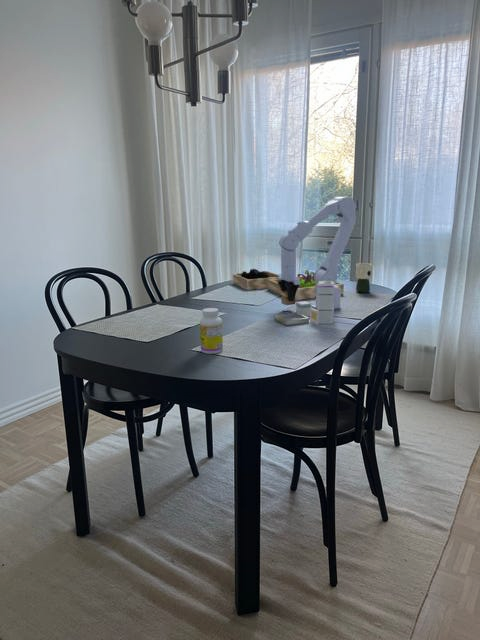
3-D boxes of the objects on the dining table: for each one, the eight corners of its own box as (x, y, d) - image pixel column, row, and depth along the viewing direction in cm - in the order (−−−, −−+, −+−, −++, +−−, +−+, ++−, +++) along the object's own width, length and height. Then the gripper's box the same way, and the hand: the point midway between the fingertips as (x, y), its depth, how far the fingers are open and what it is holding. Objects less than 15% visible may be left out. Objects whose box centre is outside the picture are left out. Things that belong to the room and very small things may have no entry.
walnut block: (290, 302, 191) (290, 289, 190) (295, 304, 187) (295, 291, 186) (281, 303, 189) (281, 291, 188) (286, 305, 186) (286, 292, 184)
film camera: (273, 285, 240) (273, 267, 238) (267, 288, 231) (267, 270, 229) (245, 283, 246) (245, 266, 243) (238, 287, 237) (238, 269, 235)
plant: (279, 295, 217) (279, 271, 214) (294, 287, 234) (294, 265, 231) (321, 299, 208) (322, 274, 205) (334, 291, 225) (334, 267, 222)
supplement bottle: (200, 347, 146) (199, 307, 142) (222, 347, 146) (221, 306, 143) (200, 355, 139) (199, 312, 136) (223, 354, 140) (222, 311, 136)
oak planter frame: (313, 285, 238) (314, 275, 236) (343, 294, 215) (343, 283, 213) (267, 289, 228) (267, 279, 227) (293, 300, 205) (293, 289, 204)
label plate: (311, 321, 172) (311, 308, 171) (318, 324, 168) (319, 311, 167) (309, 321, 172) (310, 308, 171) (317, 325, 168) (317, 311, 166)
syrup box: (333, 324, 168) (334, 284, 165) (316, 323, 170) (317, 283, 166) (333, 320, 174) (335, 281, 170) (317, 319, 175) (318, 280, 171)
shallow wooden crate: (267, 280, 253) (267, 270, 251) (284, 286, 235) (284, 276, 234) (232, 283, 246) (232, 273, 244) (247, 290, 228) (247, 280, 227)
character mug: (367, 295, 213) (369, 266, 210) (352, 293, 216) (353, 265, 213) (373, 290, 223) (374, 262, 219) (357, 289, 226) (359, 262, 222)
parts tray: (296, 316, 179) (296, 312, 179) (309, 322, 171) (309, 317, 170) (274, 319, 176) (274, 315, 175) (285, 325, 167) (286, 320, 167)
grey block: (305, 313, 184) (305, 301, 182) (310, 316, 180) (311, 303, 179) (296, 314, 182) (296, 302, 181) (301, 317, 179) (301, 304, 177)
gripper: (271, 264, 189) (271, 297, 193) (288, 269, 176) (288, 304, 180) (286, 262, 192) (286, 295, 196) (304, 267, 179) (304, 302, 183)
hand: (288, 299), depth 188 cm, fingers closed on walnut block, 4 cm apart
